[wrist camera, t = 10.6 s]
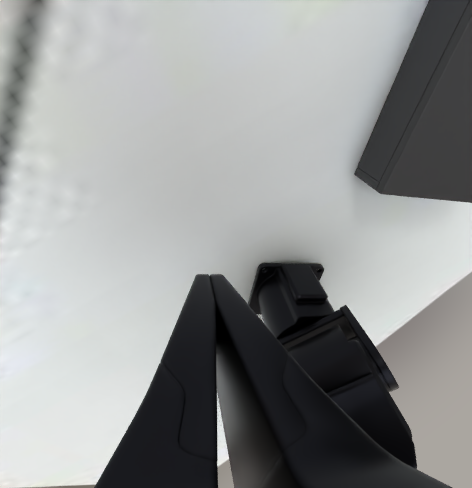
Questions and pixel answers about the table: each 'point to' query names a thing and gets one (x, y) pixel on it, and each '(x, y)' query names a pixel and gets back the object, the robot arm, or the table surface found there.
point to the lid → (428, 113)
